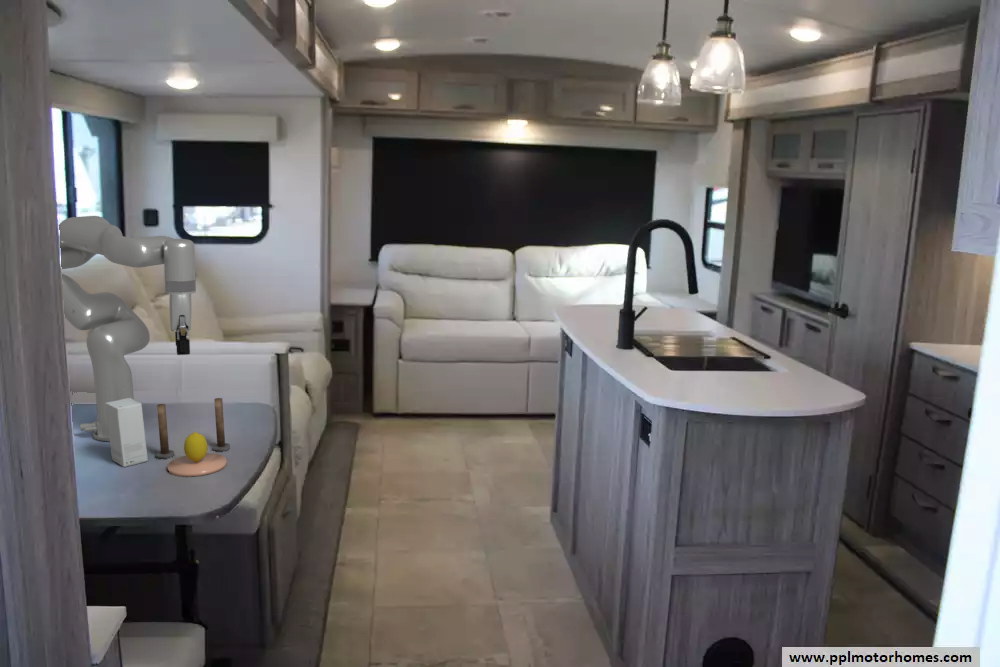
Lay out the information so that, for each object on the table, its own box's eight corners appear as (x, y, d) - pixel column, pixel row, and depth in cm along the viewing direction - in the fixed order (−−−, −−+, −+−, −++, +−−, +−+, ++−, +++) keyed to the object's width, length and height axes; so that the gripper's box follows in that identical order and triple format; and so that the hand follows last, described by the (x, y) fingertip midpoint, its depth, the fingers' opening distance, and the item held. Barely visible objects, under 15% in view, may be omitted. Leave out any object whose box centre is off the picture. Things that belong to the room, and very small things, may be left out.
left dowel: (156, 460, 211) (152, 408, 208) (155, 455, 215) (151, 403, 212) (174, 458, 213) (171, 406, 210) (173, 452, 217) (169, 401, 214)
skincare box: (148, 462, 210) (143, 403, 207) (121, 468, 206) (116, 408, 203) (135, 453, 216) (130, 396, 213) (109, 459, 212) (104, 401, 208)
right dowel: (213, 453, 217) (210, 402, 214) (211, 447, 221) (208, 397, 218) (231, 450, 219) (228, 400, 216) (228, 445, 223) (226, 396, 220)
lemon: (180, 463, 206) (178, 433, 205) (197, 457, 211) (195, 427, 209) (196, 467, 204) (194, 437, 202) (213, 461, 208) (211, 430, 207)
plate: (169, 480, 198) (169, 476, 198) (166, 461, 211) (165, 457, 210) (230, 471, 204) (229, 468, 204) (223, 454, 216) (223, 450, 216)
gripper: (164, 281, 221) (166, 343, 225) (165, 292, 206) (168, 358, 209) (194, 281, 224) (196, 342, 228) (197, 292, 209) (199, 357, 212)
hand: (182, 350), depth 219 cm, fingers open, 9 cm apart
